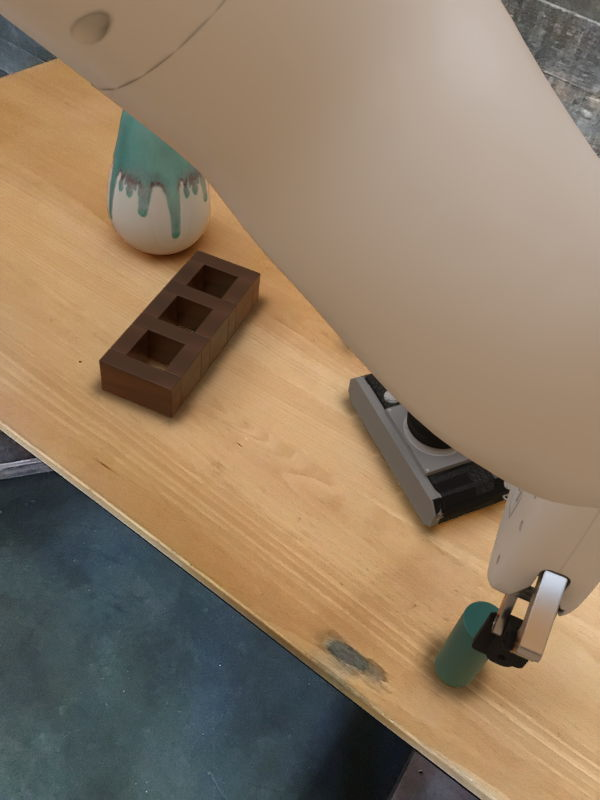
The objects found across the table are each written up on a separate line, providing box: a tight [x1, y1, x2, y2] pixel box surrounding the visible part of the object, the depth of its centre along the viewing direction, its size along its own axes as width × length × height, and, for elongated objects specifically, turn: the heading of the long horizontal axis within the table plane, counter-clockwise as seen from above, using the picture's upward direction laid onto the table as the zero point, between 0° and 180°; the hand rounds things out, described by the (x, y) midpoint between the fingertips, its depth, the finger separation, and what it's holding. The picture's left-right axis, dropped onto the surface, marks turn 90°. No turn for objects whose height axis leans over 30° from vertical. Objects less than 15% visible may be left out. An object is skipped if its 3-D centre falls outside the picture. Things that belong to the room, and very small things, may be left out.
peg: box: [434, 600, 499, 689], centre depth 56 cm, size 3×3×8 cm
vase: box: [106, 109, 212, 256], centre depth 83 cm, size 12×12×18 cm
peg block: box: [98, 249, 262, 419], centre depth 77 cm, size 19×8×4 cm, turn 157°
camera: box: [347, 372, 511, 528], centre depth 69 cm, size 18×10×10 cm
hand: (513, 588), depth 49 cm, fingers open, 9 cm apart
